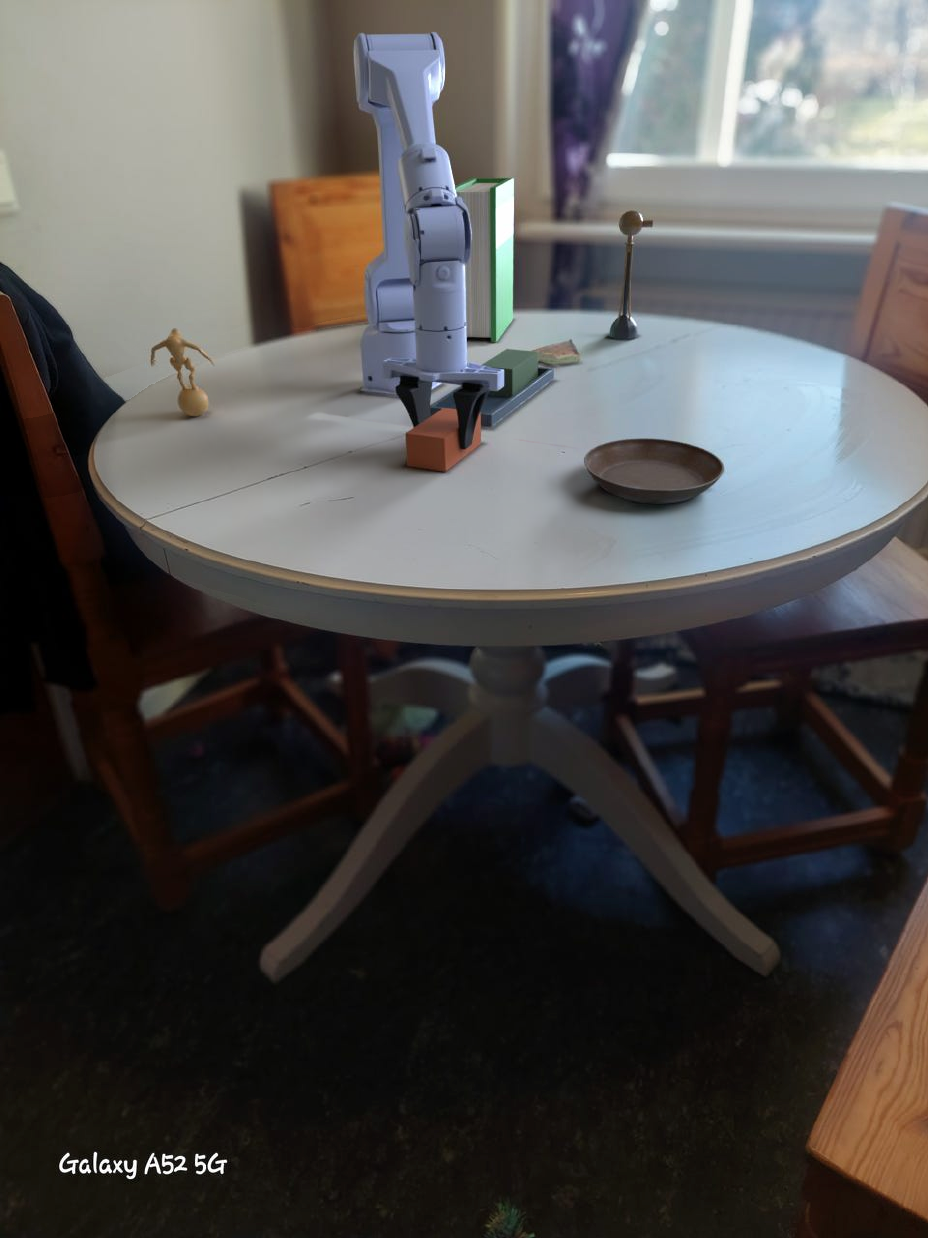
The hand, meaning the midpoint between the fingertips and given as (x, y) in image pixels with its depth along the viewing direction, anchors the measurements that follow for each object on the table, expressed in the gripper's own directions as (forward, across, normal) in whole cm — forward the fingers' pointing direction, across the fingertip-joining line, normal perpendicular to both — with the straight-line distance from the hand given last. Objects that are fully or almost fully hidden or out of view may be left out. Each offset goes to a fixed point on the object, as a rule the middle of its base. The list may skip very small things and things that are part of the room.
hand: (444, 443), depth 103 cm
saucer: (+2, +25, 0) cm, 25 cm away
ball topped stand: (+2, +4, +64) cm, 64 cm away
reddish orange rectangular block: (+1, 0, 0) cm, 1 cm away
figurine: (+2, -38, 0) cm, 38 cm away
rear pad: (+1, -3, +28) cm, 28 cm away
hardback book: (+2, -21, +60) cm, 64 cm away
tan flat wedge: (+2, -3, +46) cm, 46 cm away
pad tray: (+1, -3, +22) cm, 22 cm away
